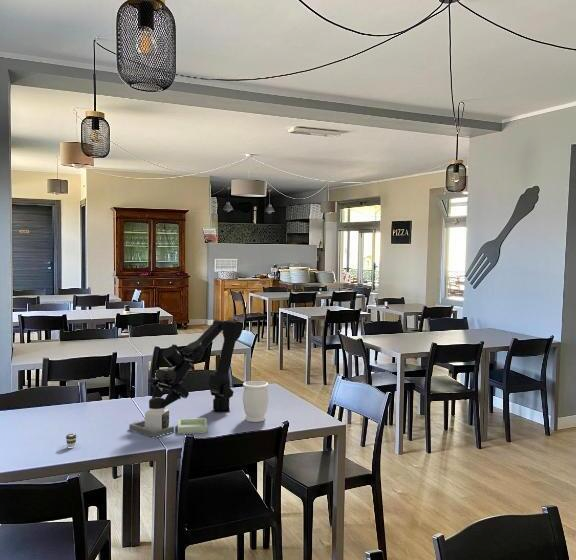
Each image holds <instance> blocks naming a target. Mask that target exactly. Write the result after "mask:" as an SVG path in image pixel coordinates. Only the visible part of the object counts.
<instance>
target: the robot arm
mask: <svg viewBox="0 0 576 560" xmlns="http://www.w3.org/2000/svg"><path fill="white" fill-rule="evenodd" d="M243 328H244V325H243V324H242V322H241V321H237V320H230V319H228V320H226V321H224V320H214V321H213V322H212V324H211V325H210V326H209V327H208V328H207V329H206V330H205V331H204V332H203V333H202V334H201V335H200V336H199V337H198V338H197V339H196V340H195V341H193V342H190V343H188V344H187V345H186V346H184V347H183V349H180V348H179V346H178V345H177V344H174V343H173V344H172V345H171V346H168V347H167V348H166V349H164V350H163V352H162V358H163V359H165V361H166V362H167V363H168V364H169V366H171V367H173V368H172V369H167V370H164V369H160V368H157V369H156V371H155V375H154V377H151V378H150V379H149V381H148V382H147V383H148V384H149V385H150V386H151V387H152V389H153V392H152V396H151V399H152V398H155V397H161V398H163V396H164V395H165V392H164V391H165V390H167V394H166V397H165V398H164V399H165V400H164V401H163V403H162V405H161V408H164V407H165V408H166V407H168V406H169V405H171V404H173V403H174V402H177V401H178V400H181V399H187V398H188V396H189V395H190V391H189V390H188V389H187V387H185V386H184V385H183V384H181V383H185V382H186V379H185V377H186V376H187V374H188V373H189V371H196V370H195V369H196V368H195V362H199V361H200V360H201V359H202V358H203V356H204V354H205V351H206V349H207V347H208V346H209V345H210V344H211V343H212V342H213V341H214V340H215V339H216V338H217V336H218V335H220V334H221V332H222V336H223V344H222V347H221V352H220V355H219V360H218V364H217V367H216V368H217V369H216V370H215V373H214V374H210V376H209V380H208V383H207V384H208V390H209V392H210V394H211V396H214V398H213V399H212V409H213V411H214V413H225V412H226V413H227V412H228V413H229V412H230V411H231V410H230V399H231V398H232V397H233V395H234V392H235V391H234V390H233V389H232V388H231V387H230V377H229V370H230V366H231V362H232V358H233V353H234V349H235V344H236V342H237V341H238V340H239V339H240V337H241V335H242V333H243ZM191 362H194V363H191ZM160 379H161V380H160Z"/></svg>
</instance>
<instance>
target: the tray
mask: <svg viewBox="0 0 576 560" xmlns="http://www.w3.org/2000/svg"><path fill="white" fill-rule="evenodd" d="M207 418H208V417H193V418H191V417H190V418H189V417H188V418H178V421H177V434H178V433H183V434H202V433H203V434H206V433H208V419H207ZM183 434H182V435H183Z"/></svg>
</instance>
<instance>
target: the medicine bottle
mask: <svg viewBox="0 0 576 560" xmlns="http://www.w3.org/2000/svg"><path fill="white" fill-rule="evenodd" d="M164 400H165V398H163V397H155V398H152V397H151V398H150V399H149V400H148V410H147V411H146V412H145V413H144V420H145V426H144V428H147V429H149V430H152V431H158V430H161V429H165V428H168V427H170V409H168V408H166V407H164V408H161V405H162V403H163V401H164Z"/></svg>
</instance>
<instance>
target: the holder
mask: <svg viewBox="0 0 576 560" xmlns="http://www.w3.org/2000/svg"><path fill="white" fill-rule="evenodd" d="M143 426H144V427H143ZM128 427H129V430H130V429H131V430H130V431H132V430H134V431H133V432H135V431H136V433H138V432H139V433H138V434H141V433H142V434H141V435H144V436H147V435H148V436H147V437H150V436H151V437H150V438H152V437H154V438H153V439H156V438H155V437H157V436H160V435H163V434H166V435H168V434H167V433H170V432H173V433H175V426H169V427H168V428H165V429H161V430H158V431H152V430H149V429H147V428H145V419H144V420H141V421H137V422H132V423H129V426H128ZM170 434H171V433H170ZM163 436H164V435H163ZM160 437H161V436H160ZM157 438H158V437H157Z"/></svg>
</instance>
